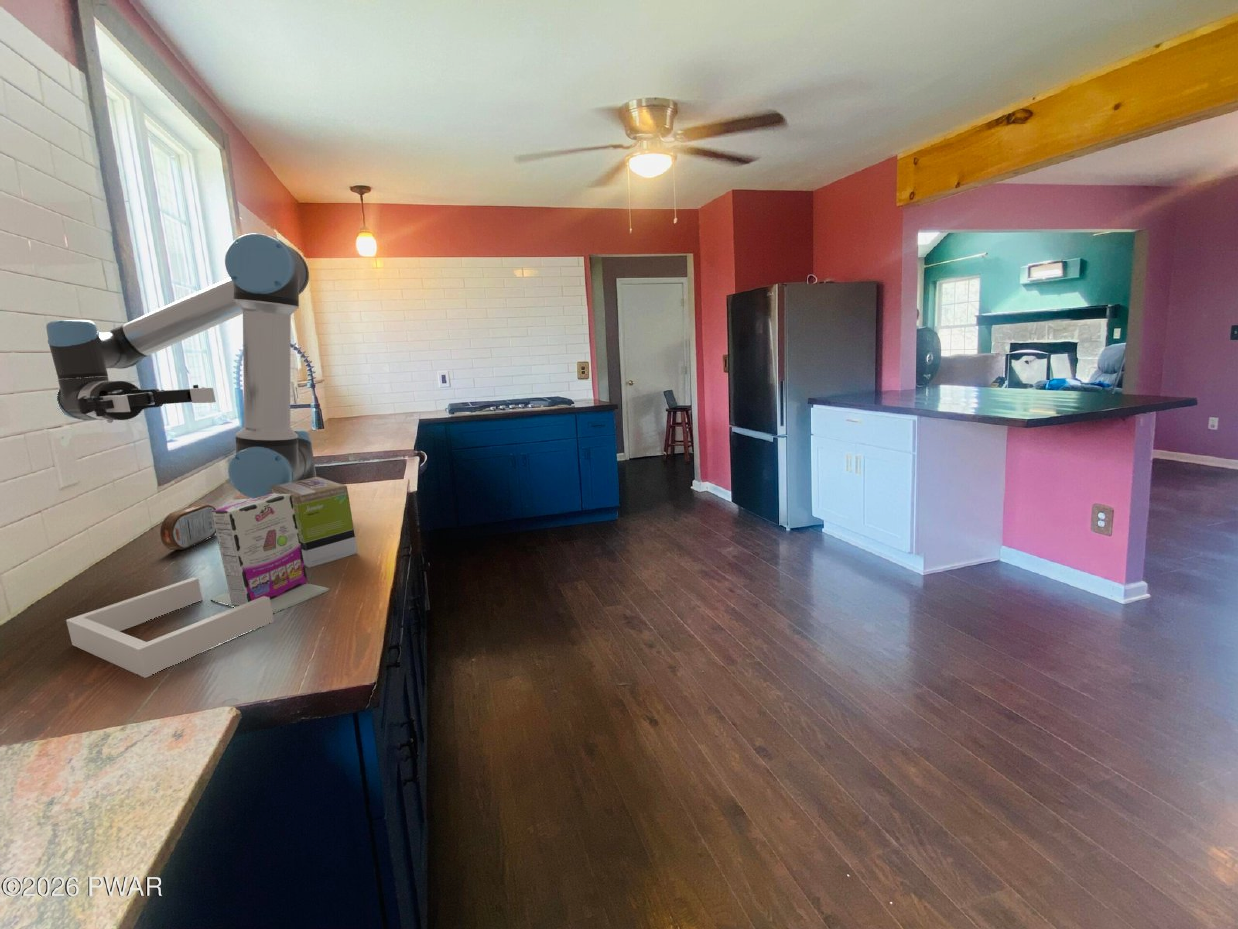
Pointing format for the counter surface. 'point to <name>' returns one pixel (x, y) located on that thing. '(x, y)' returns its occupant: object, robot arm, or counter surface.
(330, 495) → the tea box
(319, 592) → the sage mat
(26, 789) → the counter surface
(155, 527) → the counter surface
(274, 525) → the candy bar box
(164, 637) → the white piece
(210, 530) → the tin
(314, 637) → the counter surface
